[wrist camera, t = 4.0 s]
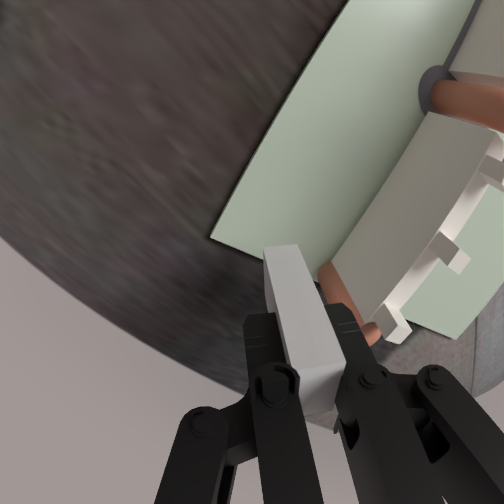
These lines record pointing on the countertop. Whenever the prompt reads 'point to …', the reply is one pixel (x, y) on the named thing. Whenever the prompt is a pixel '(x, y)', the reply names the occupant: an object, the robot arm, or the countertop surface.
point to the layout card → (365, 152)
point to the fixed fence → (477, 72)
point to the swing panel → (413, 223)
